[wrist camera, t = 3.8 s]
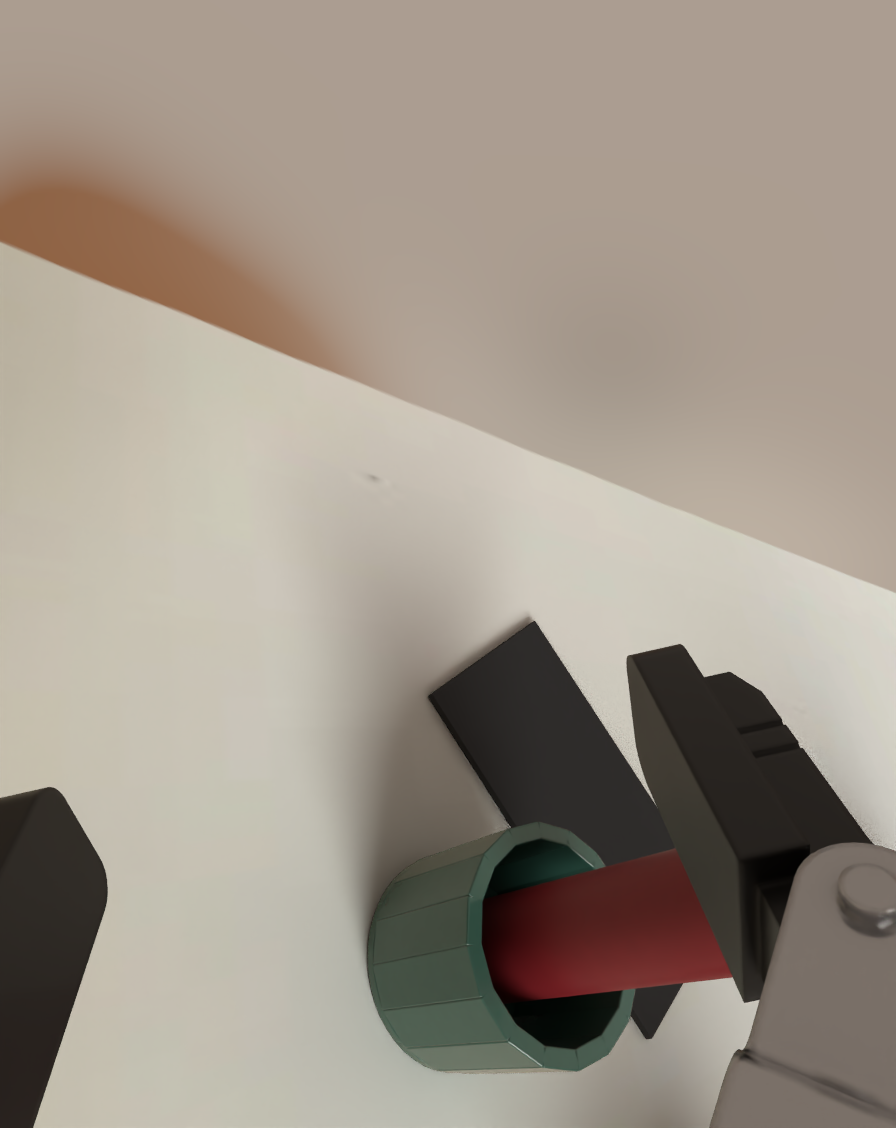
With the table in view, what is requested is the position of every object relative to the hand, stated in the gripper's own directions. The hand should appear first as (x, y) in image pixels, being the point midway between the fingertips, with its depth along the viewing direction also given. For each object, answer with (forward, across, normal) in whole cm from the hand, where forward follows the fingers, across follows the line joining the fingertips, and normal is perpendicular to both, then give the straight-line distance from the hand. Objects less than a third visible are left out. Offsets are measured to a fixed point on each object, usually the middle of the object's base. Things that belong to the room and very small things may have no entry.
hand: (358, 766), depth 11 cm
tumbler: (+15, -2, -24) cm, 29 cm away
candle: (+14, -2, -24) cm, 28 cm away
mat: (+23, +6, -27) cm, 36 cm away
